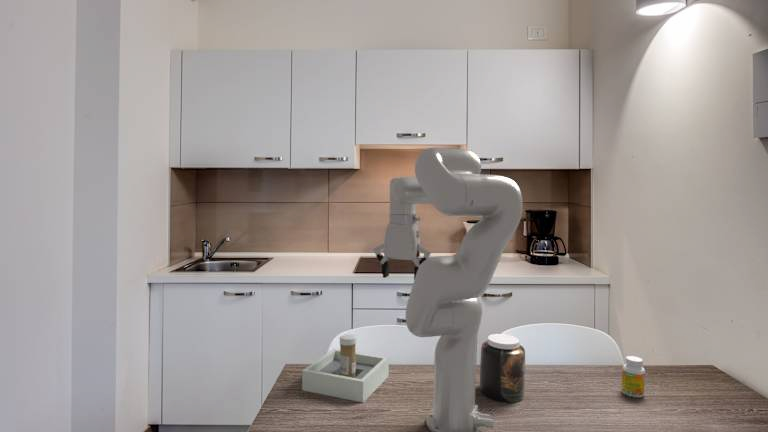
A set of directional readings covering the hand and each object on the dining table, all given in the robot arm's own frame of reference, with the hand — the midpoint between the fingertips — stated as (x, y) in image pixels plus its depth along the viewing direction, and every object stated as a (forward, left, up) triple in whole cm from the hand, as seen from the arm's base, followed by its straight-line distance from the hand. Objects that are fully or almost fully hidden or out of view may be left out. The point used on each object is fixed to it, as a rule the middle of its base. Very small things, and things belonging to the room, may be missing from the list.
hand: (401, 278), depth 138 cm
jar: (-30, +2, -29) cm, 41 cm away
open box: (+11, +13, -28) cm, 33 cm away
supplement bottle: (-63, -12, -28) cm, 70 cm away
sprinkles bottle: (+11, +13, -28) cm, 33 cm away
